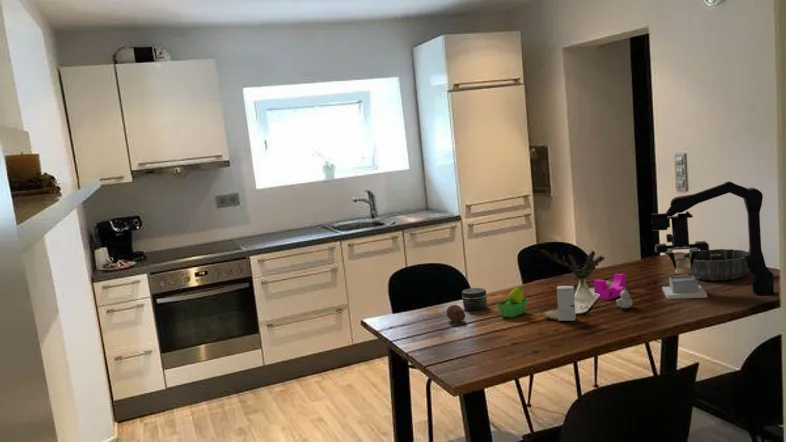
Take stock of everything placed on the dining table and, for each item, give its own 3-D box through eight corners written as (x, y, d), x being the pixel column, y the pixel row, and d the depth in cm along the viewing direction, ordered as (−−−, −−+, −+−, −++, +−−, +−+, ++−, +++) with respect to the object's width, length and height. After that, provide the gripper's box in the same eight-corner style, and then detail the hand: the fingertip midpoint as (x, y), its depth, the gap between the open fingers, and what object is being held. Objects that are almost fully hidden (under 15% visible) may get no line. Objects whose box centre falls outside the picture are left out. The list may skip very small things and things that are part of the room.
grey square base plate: (700, 288, 250) (699, 274, 250) (707, 297, 237) (706, 281, 236) (662, 290, 254) (661, 275, 254) (667, 298, 241) (666, 283, 240)
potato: (454, 325, 237) (452, 309, 237) (442, 320, 246) (441, 304, 246) (469, 321, 240) (468, 306, 239) (457, 316, 249) (455, 301, 248)
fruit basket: (513, 309, 250) (511, 282, 249) (532, 311, 244) (530, 283, 243) (496, 316, 242) (494, 288, 241) (515, 319, 236) (513, 290, 235)
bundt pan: (677, 283, 264) (675, 260, 263) (688, 270, 285) (687, 248, 284) (748, 285, 248) (747, 260, 247) (755, 271, 270) (754, 248, 269)
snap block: (688, 270, 246) (687, 256, 246) (691, 272, 242) (690, 258, 241) (675, 270, 248) (674, 257, 247) (677, 273, 243) (676, 259, 243)
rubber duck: (636, 308, 233) (635, 287, 233) (621, 311, 232) (620, 290, 231) (627, 305, 239) (625, 284, 238) (612, 308, 237) (611, 287, 236)
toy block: (607, 300, 249) (606, 282, 248) (595, 298, 254) (593, 280, 253) (631, 292, 257) (630, 275, 256) (618, 291, 262) (617, 273, 261)
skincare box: (558, 321, 228) (555, 288, 226) (559, 317, 232) (556, 285, 231) (576, 320, 226) (573, 288, 225) (576, 317, 230) (573, 285, 229)
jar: (492, 306, 259) (490, 288, 258) (478, 312, 252) (476, 294, 251) (472, 304, 266) (471, 286, 265) (458, 310, 258) (456, 292, 258)
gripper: (702, 224, 248) (704, 263, 250) (651, 228, 253) (654, 266, 255) (708, 228, 237) (710, 269, 239) (655, 232, 243) (658, 271, 244)
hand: (682, 268), depth 245 cm, fingers closed on snap block, 5 cm apart
